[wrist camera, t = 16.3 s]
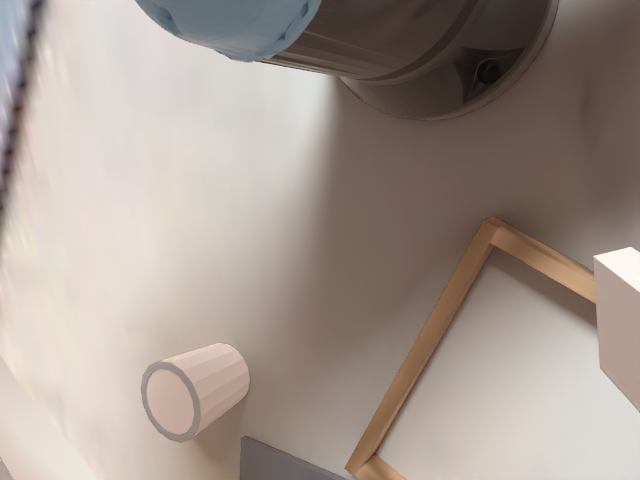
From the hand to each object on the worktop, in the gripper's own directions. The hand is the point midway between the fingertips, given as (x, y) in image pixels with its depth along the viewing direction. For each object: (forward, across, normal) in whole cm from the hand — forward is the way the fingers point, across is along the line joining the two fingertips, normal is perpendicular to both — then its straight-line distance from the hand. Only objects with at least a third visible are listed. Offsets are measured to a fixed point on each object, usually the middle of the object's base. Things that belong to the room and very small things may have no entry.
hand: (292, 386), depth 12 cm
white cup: (+34, -11, -21) cm, 41 cm away
